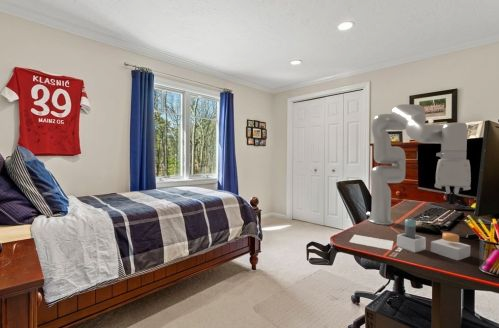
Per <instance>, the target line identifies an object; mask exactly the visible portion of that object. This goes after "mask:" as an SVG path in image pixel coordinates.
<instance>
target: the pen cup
mask: <svg viewBox="0 0 499 328" xmlns="http://www.w3.org/2000/svg"><path fill="white" fill-rule="evenodd" d="M426 241H427V237H424V236H421V235H418V234H415V240H414V239H411V238H407V237H405V232H404V233H401V234H397V235H396V247H397V248H398V249H399V248H400V249H403V250H405V251H408V252H411V253H415V254H416V253H418V252H422V251H425V250H427V249H426V245H427V244H426V243H427V242H426Z"/></svg>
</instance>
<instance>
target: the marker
mask: <svg viewBox="0 0 499 328" xmlns="http://www.w3.org/2000/svg"><path fill="white" fill-rule="evenodd" d="M416 223H417V221H416V220H415V219H412V218H405V219H404V233H405V237H407V238H411V239H414V240H415V235H416V225H417V224H416Z"/></svg>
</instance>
